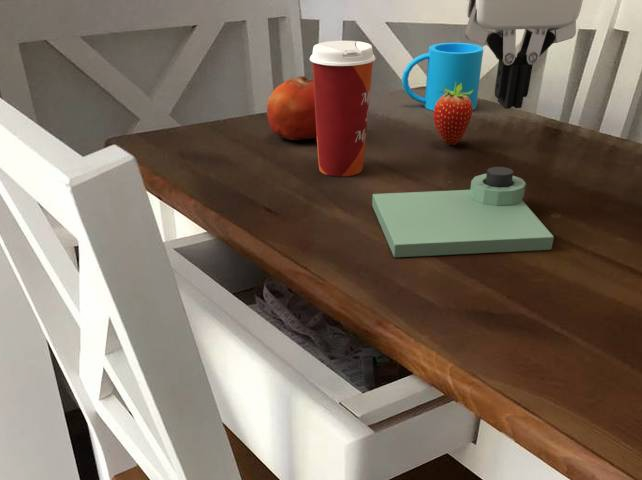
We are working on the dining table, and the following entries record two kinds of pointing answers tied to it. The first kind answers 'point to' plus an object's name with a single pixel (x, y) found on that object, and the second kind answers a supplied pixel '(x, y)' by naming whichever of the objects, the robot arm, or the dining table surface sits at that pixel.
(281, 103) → the tomato
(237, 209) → the dining table surface
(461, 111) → the fruit
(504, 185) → the button
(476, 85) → the mug
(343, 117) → the paper cup
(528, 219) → the scale
